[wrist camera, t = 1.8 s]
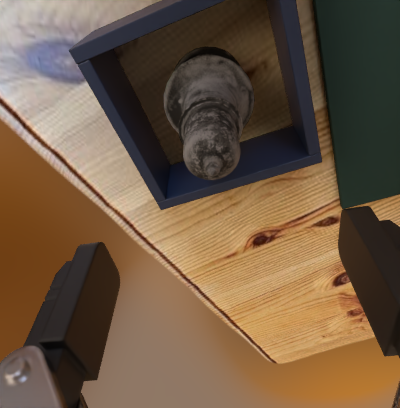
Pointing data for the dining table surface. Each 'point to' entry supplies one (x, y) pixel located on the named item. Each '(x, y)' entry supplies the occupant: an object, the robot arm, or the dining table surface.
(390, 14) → the mat
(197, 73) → the grey flared post
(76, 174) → the dining table surface
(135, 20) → the crate
